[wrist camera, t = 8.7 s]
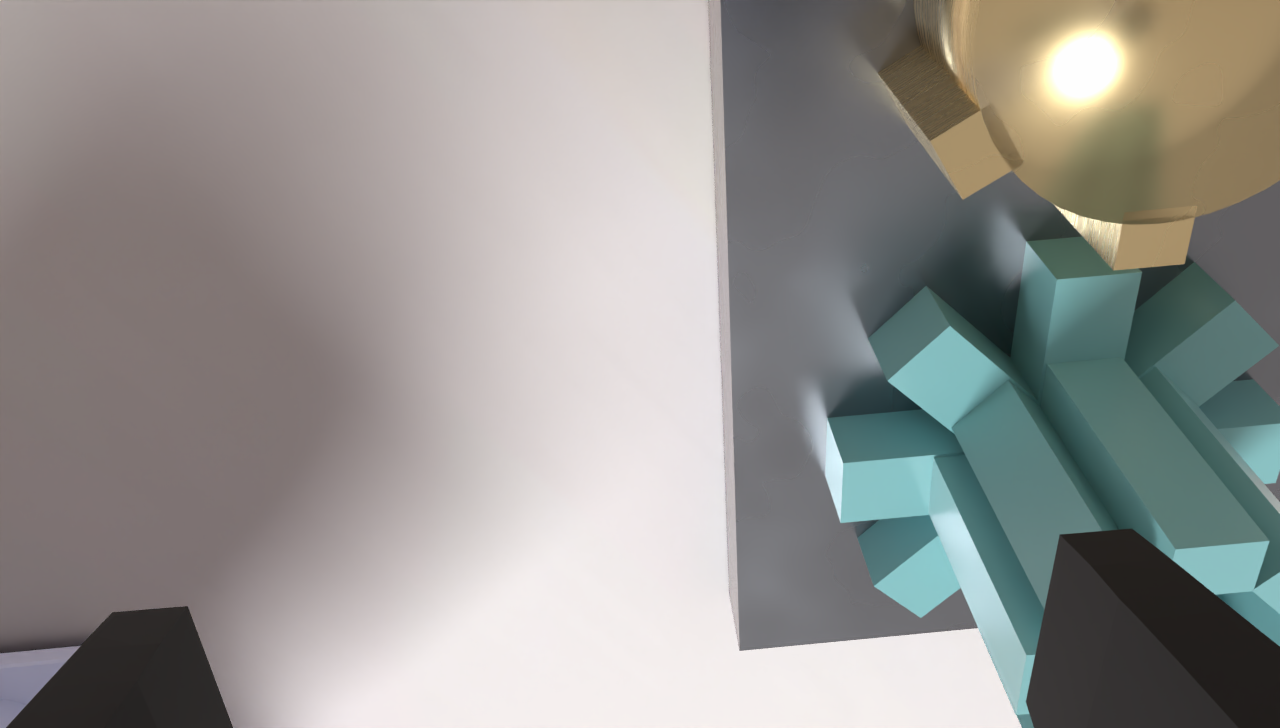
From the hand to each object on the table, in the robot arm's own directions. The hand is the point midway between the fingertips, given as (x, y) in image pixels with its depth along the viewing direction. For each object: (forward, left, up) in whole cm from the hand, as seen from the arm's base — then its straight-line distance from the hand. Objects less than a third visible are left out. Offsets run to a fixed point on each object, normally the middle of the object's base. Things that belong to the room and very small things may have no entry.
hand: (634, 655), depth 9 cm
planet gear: (-4, -7, -8) cm, 11 cm away
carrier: (-1, -7, -9) cm, 12 cm away
